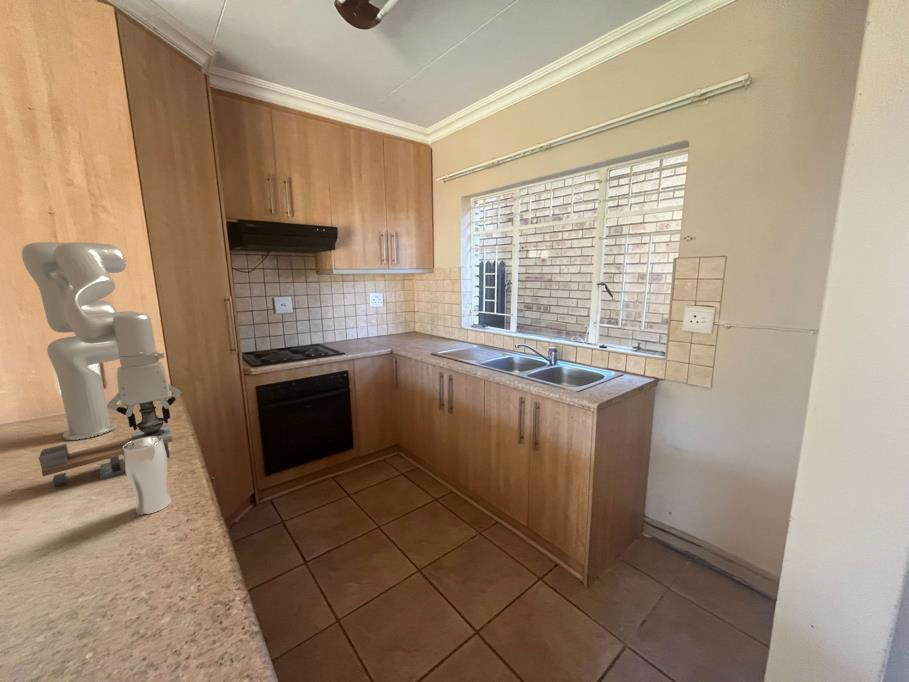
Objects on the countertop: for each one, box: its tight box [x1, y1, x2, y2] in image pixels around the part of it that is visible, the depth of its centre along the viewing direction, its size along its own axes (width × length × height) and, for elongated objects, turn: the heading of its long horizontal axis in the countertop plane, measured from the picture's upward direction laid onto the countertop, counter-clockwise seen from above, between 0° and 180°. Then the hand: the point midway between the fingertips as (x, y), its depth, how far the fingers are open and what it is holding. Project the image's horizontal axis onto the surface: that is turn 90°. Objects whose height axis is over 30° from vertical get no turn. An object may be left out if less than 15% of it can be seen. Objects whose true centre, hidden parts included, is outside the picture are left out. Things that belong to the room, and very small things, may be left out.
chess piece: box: [136, 401, 165, 438], centre depth 99 cm, size 6×6×12 cm
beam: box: [38, 424, 173, 477], centre depth 94 cm, size 10×24×4 cm, turn 133°
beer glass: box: [122, 436, 172, 516], centre depth 79 cm, size 7×7×15 cm
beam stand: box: [52, 442, 170, 489], centre depth 95 cm, size 8×22×5 cm, turn 133°
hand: (150, 424), depth 99 cm, fingers closed on chess piece, 5 cm apart
